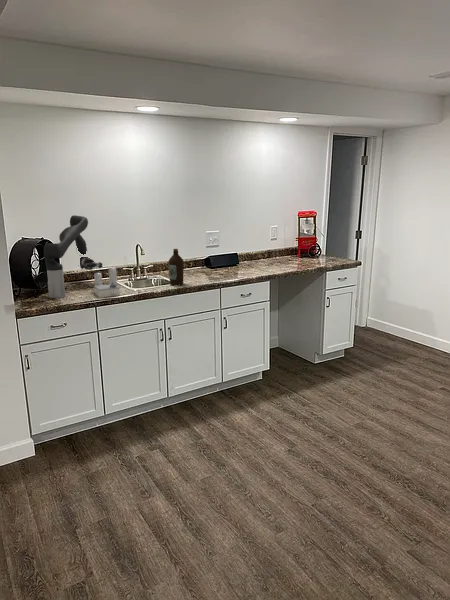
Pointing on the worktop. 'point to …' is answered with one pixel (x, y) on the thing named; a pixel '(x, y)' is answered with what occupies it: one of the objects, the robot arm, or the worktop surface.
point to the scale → (106, 290)
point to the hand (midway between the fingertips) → (93, 267)
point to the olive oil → (176, 268)
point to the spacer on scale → (112, 277)
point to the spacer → (98, 279)
